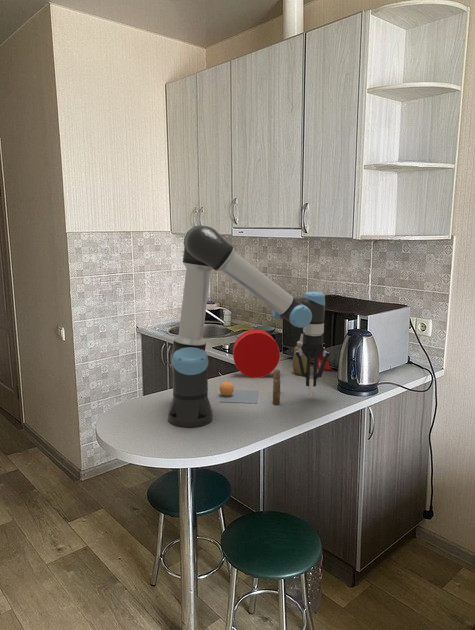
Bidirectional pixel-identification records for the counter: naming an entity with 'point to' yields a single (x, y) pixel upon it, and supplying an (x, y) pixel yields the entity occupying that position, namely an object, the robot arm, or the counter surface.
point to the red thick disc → (256, 353)
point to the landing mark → (241, 397)
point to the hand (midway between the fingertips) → (310, 394)
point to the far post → (276, 374)
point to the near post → (276, 392)
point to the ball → (226, 388)
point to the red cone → (325, 363)
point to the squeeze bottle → (295, 359)
